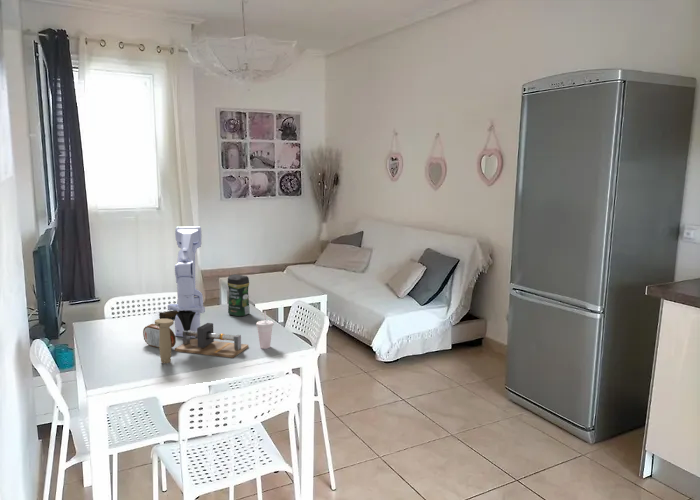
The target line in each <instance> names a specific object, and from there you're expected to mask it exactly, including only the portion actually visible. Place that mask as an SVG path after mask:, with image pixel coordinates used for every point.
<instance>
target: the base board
mask: <svg viewBox="0 0 700 500" xmlns="http://www.w3.org/2000/svg"><path fill="white" fill-rule="evenodd" d="M246 349H249V344H245V343H241V349H240V350H238V351H236V350H234V342H225V341H218V340H214V342H212V343H211V344H209V345H207V346H206V347H204V348H202V347H198V338H190V343H189V344H187V345H183V343H181V344H180V345H179V346H176V347H175V348H174V352H179V353H180V352H181V353H187V354H196V355H197V354H198V355H205V356H213V357H214V356H215V357H222V358H231V359H234V358H235V357H236V356H238V355H239V354H241V353H242V352H244V351H245V350H246Z"/></svg>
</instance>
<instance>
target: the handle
mask: <svg viewBox="0 0 700 500" xmlns="http://www.w3.org/2000/svg"><path fill="white" fill-rule="evenodd" d="M154 324H155V325H156V326H158V327H159V348H158V350H159V357H160V362H161V363H162V364H163V365H164V364H170V363H171V362H172V358H171V357H172V348H171V339H170V329H171V328H170V327H172V326H173V325H175V321H174V320H173V319H172V318H170V319H160V318H158V319H155V320H154Z"/></svg>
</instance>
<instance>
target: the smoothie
mask: <svg viewBox="0 0 700 500" xmlns="http://www.w3.org/2000/svg"><path fill="white" fill-rule="evenodd" d="M263 312H264V319H263V320H262V319H261V320H259V321H257V322H256V328H257V333H258V341H259V348H260V349H263V350H264V349H265V350H267V349H270V348H271V345H272V343H271V342H272V335H273V334H272V333H273V326H274V321H272V320H269V319H267V311H263Z"/></svg>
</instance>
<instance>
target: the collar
mask: <svg viewBox="0 0 700 500" xmlns="http://www.w3.org/2000/svg"><path fill="white" fill-rule="evenodd" d="M206 332H207V333H214V323H213V322H207V323H204V324H202V325H200V327H199V328H197V337H196V339H198V347H202V348H204V347H206V346H207V345H209V344H211V343H212V342H214V341H215V339H212V338H206Z"/></svg>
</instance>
